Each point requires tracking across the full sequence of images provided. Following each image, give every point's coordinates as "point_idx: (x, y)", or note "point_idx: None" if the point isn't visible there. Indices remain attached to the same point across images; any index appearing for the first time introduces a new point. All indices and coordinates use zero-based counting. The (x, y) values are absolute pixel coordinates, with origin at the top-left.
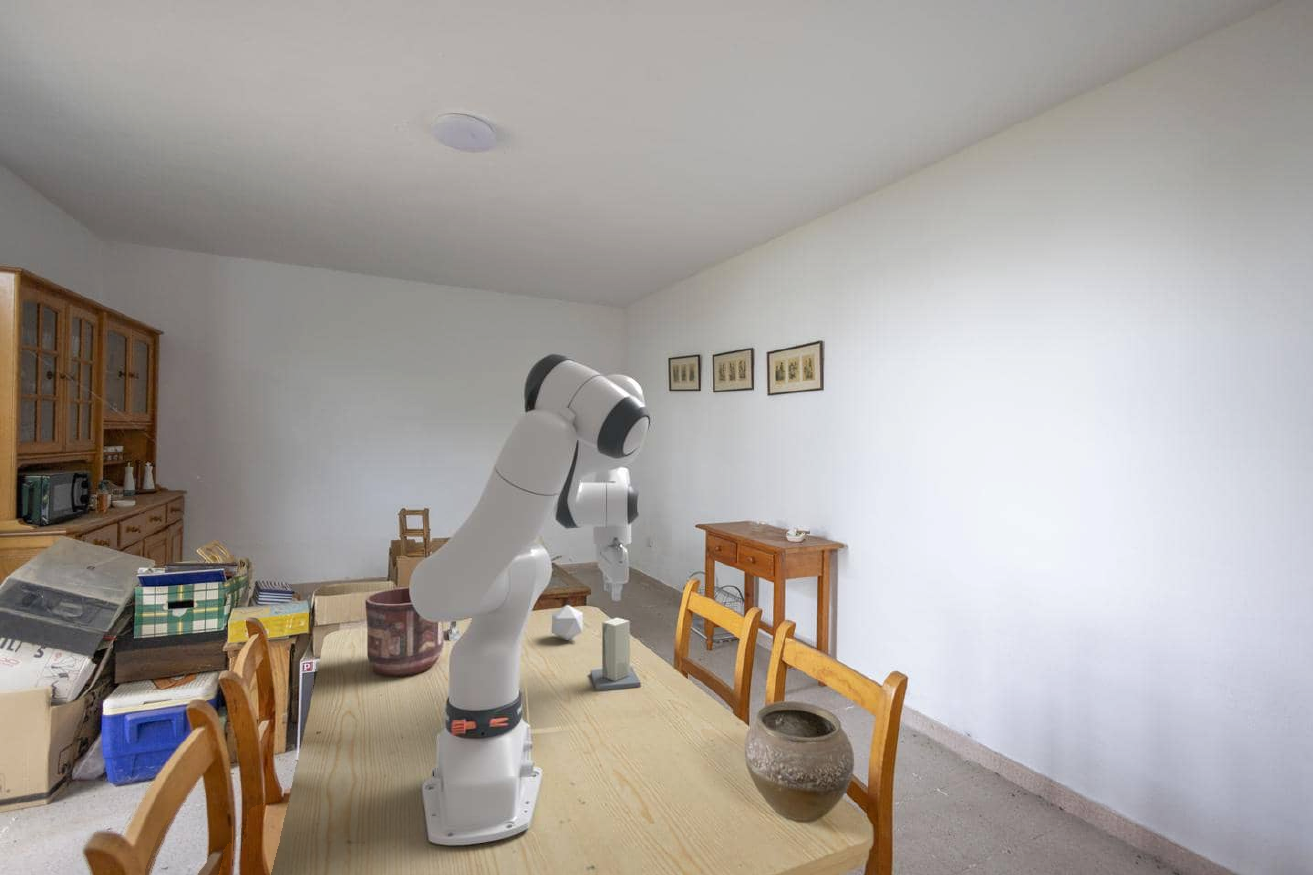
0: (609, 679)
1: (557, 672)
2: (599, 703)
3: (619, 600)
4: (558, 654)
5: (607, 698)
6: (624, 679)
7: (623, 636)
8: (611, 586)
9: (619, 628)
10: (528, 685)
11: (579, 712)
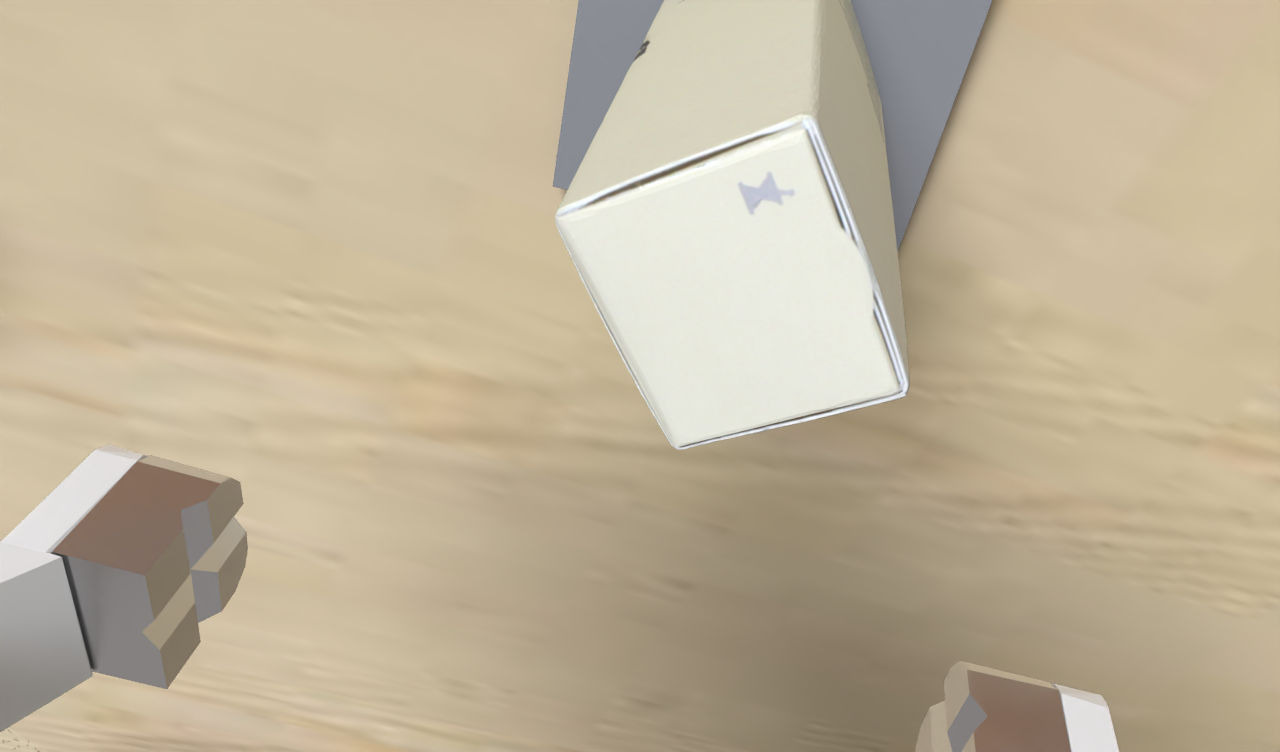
0: None
1: (450, 352)
2: (1105, 315)
3: (1089, 692)
4: (100, 233)
5: (1063, 237)
6: (877, 8)
7: (863, 165)
8: (184, 547)
9: (886, 287)
10: (600, 542)
11: (1144, 461)
